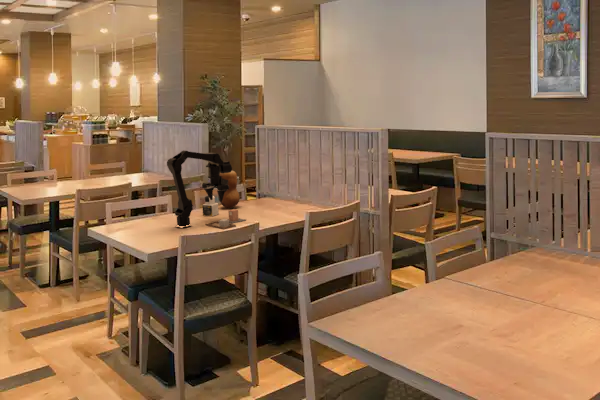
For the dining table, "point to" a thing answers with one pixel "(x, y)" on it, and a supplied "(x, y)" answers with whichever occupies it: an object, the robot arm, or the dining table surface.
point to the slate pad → (236, 221)
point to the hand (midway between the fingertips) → (216, 200)
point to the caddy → (220, 226)
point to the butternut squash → (230, 190)
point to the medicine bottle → (210, 207)
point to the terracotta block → (233, 215)
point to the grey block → (223, 222)
